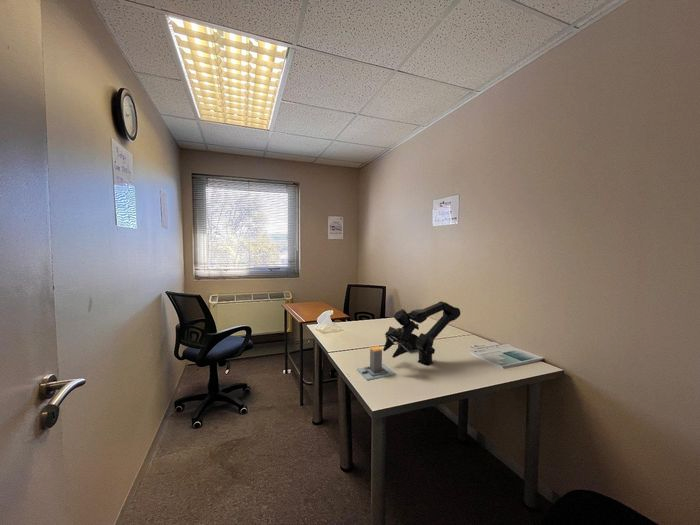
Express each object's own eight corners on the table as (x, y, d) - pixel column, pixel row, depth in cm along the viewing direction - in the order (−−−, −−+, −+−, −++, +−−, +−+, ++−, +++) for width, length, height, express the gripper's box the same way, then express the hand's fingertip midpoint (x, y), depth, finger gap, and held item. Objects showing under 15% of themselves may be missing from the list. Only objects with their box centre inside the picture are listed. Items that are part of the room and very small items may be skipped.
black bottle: (392, 340, 200) (397, 328, 202) (416, 353, 168) (422, 338, 169) (380, 335, 198) (386, 322, 200) (402, 347, 165) (409, 331, 167)
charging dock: (383, 364, 149) (383, 362, 149) (395, 374, 138) (395, 371, 138) (356, 369, 143) (356, 366, 143) (367, 380, 132) (367, 377, 132)
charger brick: (377, 368, 143) (377, 346, 143) (381, 372, 139) (382, 349, 139) (370, 370, 142) (370, 347, 141) (374, 373, 138) (374, 350, 137)
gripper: (388, 316, 152) (370, 339, 149) (407, 326, 135) (387, 351, 132) (400, 329, 156) (382, 351, 152) (420, 339, 139) (401, 364, 135)
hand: (388, 354), depth 143 cm, fingers open, 9 cm apart
